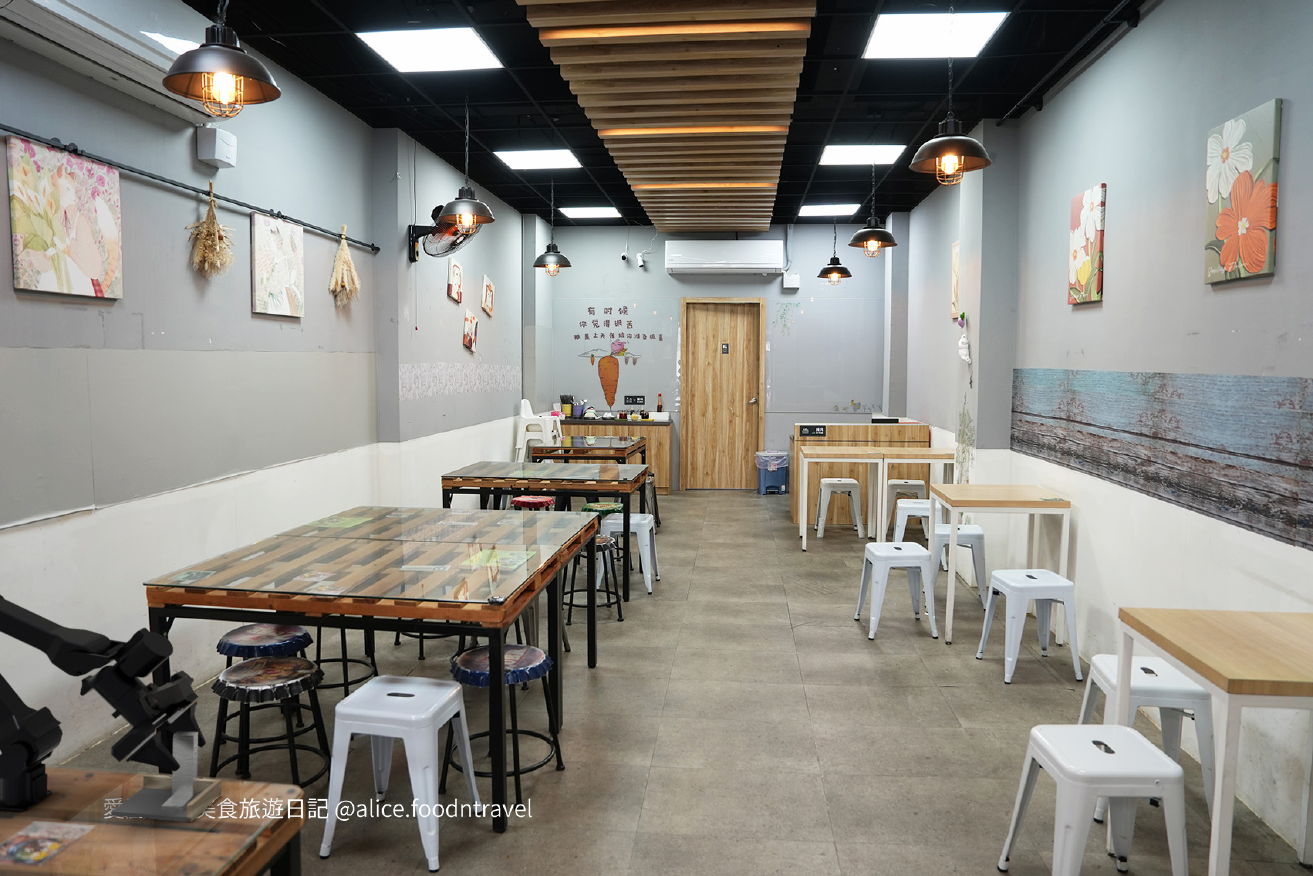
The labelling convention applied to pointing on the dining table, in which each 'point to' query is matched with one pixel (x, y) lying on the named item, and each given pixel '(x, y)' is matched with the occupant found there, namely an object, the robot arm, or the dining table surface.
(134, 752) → the robot arm
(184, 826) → the dining table surface
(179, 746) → the aluminium bracket
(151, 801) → the charcoal mat
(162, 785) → the wooden corner walls
